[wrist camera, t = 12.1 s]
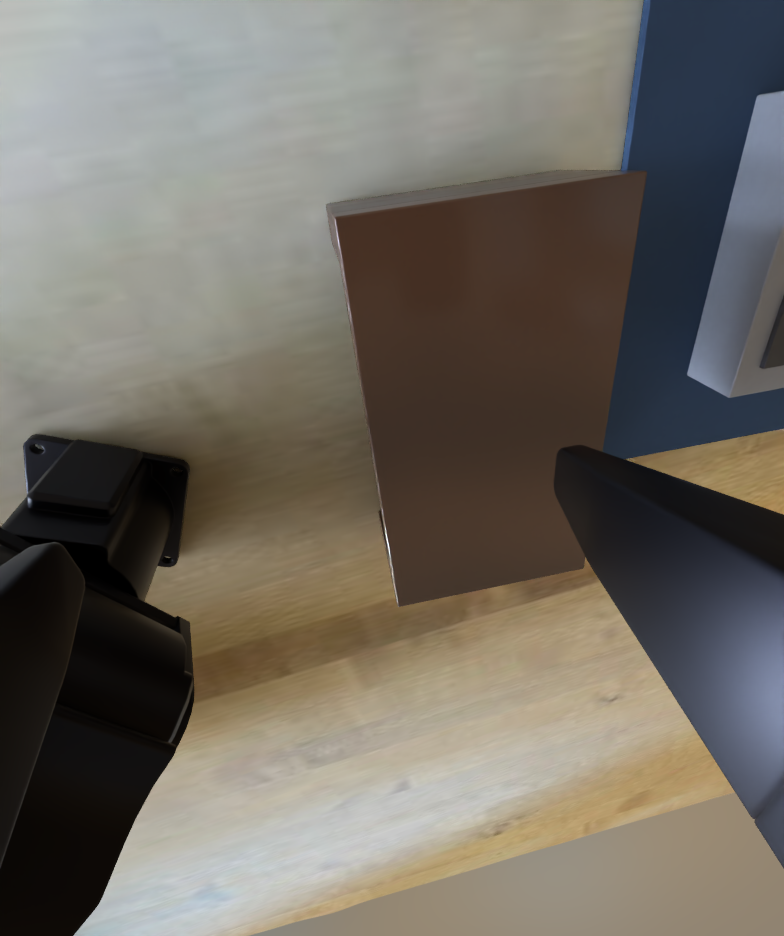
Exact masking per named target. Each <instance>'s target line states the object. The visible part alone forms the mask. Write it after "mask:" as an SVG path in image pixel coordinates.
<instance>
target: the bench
mask: <svg viewBox="0 0 784 936" xmlns="http://www.w3.org/2000/svg"><path fill="white" fill-rule="evenodd" d="M646 177H647V171H638V170H623V171H622V170H556V171H549V172H542V173H535V174H528V175H522V176H515V177H508V178H501V179H494V180H487V181H481V182H474V183H467V184H460V185H453V186H446V187H439V188H433V189H426V190H419V191H412V192H405V193H398V194H391V195H385V196H378V197H371V198H364V199H357V200H350V201H343V202H337V203H330V204H326V209H327V215H328V221H329V227H330V232H331V238H332V244H333V247H334V249H335V252H336V255H337V257H338V260H339V262H340V268H341V274H342V280H343V286H344V292H345V298H346V304H347V310H348V316H349V322H350V328H351V334H352V340H353V346H354V352H355V358H356V364H357V370H358V376H359V382H360V388H361V394H362V400H363V406H364V412H365V418H366V424H367V430H368V436H369V442H370V448H371V454H372V460H373V466H374V472H375V478H376V484H377V490H378V496H379V502H380V508H381V511H379V512H378V513H379V519H380V525H381V531H382V535H383V540H384V545H385V549H386V554H387V559H388V563H389V568H390V573H391V577H392V582H393V586H394V591H395V596H396V601H397V605H398V607H400V606H405V605H410V604H415V603H420V602H424V601H429V600H434V599H439V598H444V597H449V596H453V595H458V594H463V593H468V592H473V591H477V590H482V589H487V588H492V587H497V586H502V585H506V584H511V583H516V582H521V581H526V580H530V579H535V578H540V577H545V576H550V575H555V574H559V573H564V572H569V571H574V570H579V569H583V568H584V563H585V555H584V553H583V551H582V549H581V547H580V545H579V543H578V541H577V539H576V537H575V535H574V532H573V530H572V528H571V526H570V524H569V522H568V520H567V518H566V516H565V514H564V512H563V510H562V508H561V506H560V504H559V502H558V500H557V498H556V495H555V492H554V475H555V465H556V456H557V453H558V451H559V450H560V449H561V448H564V447H569V446H574V445H584V446H587V447H590V448H593V449H596V450H599V451H601V452H602V451H603V445H604V438H605V432H606V426H607V420H608V414H609V407H610V401H611V395H612V389H613V383H614V376H615V370H616V364H617V358H618V351H619V345H620V339H621V333H622V327H623V320H624V314H625V308H626V302H627V295H628V289H629V283H630V277H631V271H632V264H633V258H634V252H635V246H636V240H637V233H638V227H639V221H640V215H641V208H642V202H643V196H644V190H645V184H646Z"/></svg>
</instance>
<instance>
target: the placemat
mask: <svg viewBox="0 0 784 936" xmlns="http://www.w3.org/2000/svg"><path fill="white" fill-rule="evenodd" d="M779 91H784V0H644V4H643V11H642V19H641V26H640V34H639V41H638V49H637V56H636V64H635V71H634V78H633V86H632V93H631V101H630V108H629V116H628V123H627V131H626V138H625V146H624V153H623V161H622V168H621V170H622V171H623V170H638V171H647V177H646V184H645V190H644V196H643V202H642V208H641V215H640V221H639V227H638V233H637V240H636V246H635V252H634V258H633V264H632V271H631V277H630V283H629V289H628V295H627V302H626V308H625V314H624V320H623V327H622V333H621V339H620V345H619V351H618V358H617V364H616V370H615V376H614V383H613V389H612V395H611V401H610V407H609V414H608V420H607V426H606V432H605V438H604V445H603V451H602V452H604V453H607V454H610V455H613V456H616V457H619V458H622V459H628V458H633V457H638V456H643V455H648V454H654V453H659V452H664V451H669V450H675V449H680V448H685V447H690V446H695V445H701V444H706V443H711V442H716V441H721V440H727V439H732V438H737V437H742V436H747V435H753V434H758V433H763V432H768V431H773V430H779V429H784V388H779V389H774V390H769V391H763V392H758V393H753V394H747V395H742V396H737V397H731V398H728V397H726V396H725V395H723V394H721V393H719V392H717V391H715V390H713V389H712V388H710V387H708V386H706V385H704V384H702V383H700V382H699V381H697V380H695V379H693V378H691V377H689V376H688V375H687V373H688V369H689V365H690V361H691V357H692V353H693V349H694V345H695V341H696V337H697V333H698V329H699V325H700V321H701V317H702V313H703V309H704V305H705V301H706V297H707V293H708V289H709V285H710V281H711V277H712V273H713V269H714V265H715V261H716V257H717V253H718V249H719V245H720V241H721V237H722V233H723V229H724V225H725V221H726V217H727V213H728V209H729V205H730V201H731V197H732V193H733V189H734V185H735V181H736V178H737V174H738V170H739V166H740V162H741V158H742V154H743V150H744V146H745V142H746V138H747V134H748V130H749V126H750V122H751V118H752V114H753V110H754V106H755V102H756V98H757V96H758V95H760V94H766V93H773V92H779Z"/></svg>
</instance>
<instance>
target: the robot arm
mask: <svg viewBox="0 0 784 936" xmlns="http://www.w3.org/2000/svg"><path fill="white" fill-rule="evenodd" d="M35 444H38V445H41V446H42V447H43V449H44V450H42V449H39V448H37V447H36V446H35ZM23 449H24V462H25V475H26V487H27V497H26V498H25V499H24V500H23V502H22V503H21V504H20V505H19V506H18V508H17V509H16V510H15V511H14V512H13V513H12V515H11V516H10V517H9V518H8V519H7V521H6V522H5V523H4V524H3V525H2V526H1V527H0V936H73V935H74V934H75V933H76V932H77V930H78V929H79V928H80V927H81V926H82V924H83V923H84V922H85V921H86V919H87V918H88V917H89V916H90V915H91V913H92V912H93V911H94V910H95V908H96V907H97V906H98V904H99V902H100V900H101V898H102V896H103V894H104V892H105V889H106V887H107V884H108V882H109V879H110V877H111V875H112V872H113V870H114V867H115V865H116V863H117V860H118V858H119V855H120V853H121V850H122V848H123V846H124V843H125V841H126V839H127V837H128V834H129V832H130V830H131V828H132V825H133V823H134V821H135V819H136V817H137V815H138V813H139V811H140V810H141V808H142V806H143V804H144V802H145V800H146V798H147V797H148V795H149V793H150V791H151V789H152V787H153V786H154V784H155V783H156V781H157V780H158V778H159V777H160V775H161V774H162V772H163V771H164V769H165V768H166V766H167V765H168V763H169V762H170V760H171V759H172V757H173V756H174V754H175V751H176V748H177V746H178V745H179V743H180V741H181V738H182V736H183V734H184V732H185V730H186V727H187V724H188V721H189V718H190V715H191V712H192V707H193V703H194V676H193V662H192V647H191V633H190V622H189V621H187V620H185V619H183V618H181V617H179V616H177V617H176V618H175V617H173V616H171V615H169V614H167V613H165V612H163V611H162V610H160V609H158V608H156V607H154V606H152V605H150V604H148V603H146V602H144V600H145V598H146V595H147V592H148V590H149V587H150V584H151V581H152V579H153V576H154V573H155V571H156V568H157V566H162V567H171V566H174V565H175V564H176V563H177V561H178V557H179V552H180V544H181V536H182V528H183V520H184V512H185V504H186V496H187V488H188V480H189V472H190V467H189V465H188V463H187V462H185V461H184V460H181V459H177V458H172V457H166V456H160V455H155V454H149V453H143V452H140V451H138V450H135V449H129V448H123V447H118V446H112V445H106V444H101V443H95V442H89V441H84V440H69V439H63V438H58V437H52V436H46V435H39V434H36V435H32V436H31V437H30V438H29V439H28V440H27V441H26V442H25V443H24V446H23ZM173 468H179V469H180V470H181V471H182V472H176V471H174V470H173ZM554 492H555V495H556V498H557V500H558V502H559V504H560V506H561V508H562V510H563V512H564V514H565V516H566V518H567V520H568V522H569V524H570V526H571V528H572V530H573V532H574V535H575V537H576V539H577V541H578V543H579V545H580V547H581V549H582V551H583V553H584V555H585V557H586V559H587V560H588V562H589V564H590V565H591V567H592V569H593V570H594V572H595V574H596V575H597V577H598V578H599V580H600V581H601V583H602V585H603V586H604V588H605V589H606V591H607V592H608V594H609V596H610V597H611V599H612V600H613V602H614V603H615V605H616V606H617V608H618V610H619V611H620V613H621V614H622V616H623V617H624V619H625V621H626V622H627V624H628V625H629V627H630V628H631V630H632V631H633V633H634V635H635V636H636V638H637V639H638V641H639V642H640V644H641V645H642V647H643V649H644V650H645V652H646V653H647V655H648V656H649V658H650V660H651V661H652V663H653V664H654V666H655V667H656V669H657V670H658V672H659V674H660V675H661V677H662V678H663V680H664V681H665V683H666V685H667V686H668V688H669V689H670V691H671V692H672V694H673V695H674V697H675V699H676V700H677V702H678V703H679V705H680V706H681V708H682V710H683V711H684V713H685V714H686V716H687V717H688V719H689V720H690V722H691V724H692V725H693V727H694V728H695V730H696V731H697V733H698V735H699V736H700V738H701V739H702V741H703V742H704V744H705V745H706V747H707V749H708V750H709V752H710V753H711V755H712V756H713V758H714V759H715V761H716V763H717V764H718V766H719V767H720V769H721V770H722V772H723V774H724V775H725V777H726V778H727V780H728V781H729V783H730V784H731V786H732V788H733V789H734V791H735V792H736V794H737V795H738V797H739V799H740V800H741V801H742V803H743V804H744V806H745V808H746V809H747V811H748V813H749V814H750V816H751V817H752V818H753V819H755V824H756V826H757V827H758V829H759V830H760V832H761V833H762V835H763V837H764V838H765V840H766V841H767V843H768V844H769V846H770V848H771V849H772V851H773V852H774V854H775V855H776V857H777V859H778V860H779V862H780V863H781V865H782V866H783V868H784V515H783V514H780V513H777V512H774V511H771V510H768V509H766V508H763V507H760V506H757V505H754V504H751V503H748V502H745V501H743V500H740V499H737V498H734V497H731V496H728V495H725V494H722V493H719V492H717V491H714V490H711V489H708V488H705V487H702V486H699V485H696V484H693V483H691V482H688V481H685V480H682V479H679V478H676V477H673V476H670V475H668V474H665V473H662V472H659V471H656V470H653V469H650V468H647V467H645V466H642V465H639V464H636V463H633V462H630V461H627V460H624V459H622V458H619V457H616V456H613V455H610V454H607V453H604V452H601V451H599V450H596V449H593V448H590V447H587V446H584V445H574V446H569V447H564V448H561V449H560V450H559V451H558V453H557V456H556V465H555V475H554ZM165 556H168V557H171V558H166V557H165Z"/></svg>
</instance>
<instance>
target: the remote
mask: <svg viewBox="0 0 784 936" xmlns="http://www.w3.org/2000/svg"><path fill="white" fill-rule="evenodd" d="M687 375H688V376H689V377H691V378H693V379H695V380H697V381H699V382H700V383H702V384H704V385H706V386H708V387H710V388H712V389H713V390H715V391H717V392H719V393H721V394H723V395H725V396H726V397H728V398H731V397H737V396H742V395H747V394H753V393H758V392H763V391H769V390H774V389H779V388H784V91H779V92H773V93H766V94H760V95H758V96H757V98H756V102H755V106H754V110H753V114H752V118H751V122H750V126H749V130H748V134H747V138H746V142H745V146H744V150H743V154H742V158H741V162H740V166H739V170H738V174H737V178H736V181H735V185H734V189H733V193H732V197H731V201H730V205H729V209H728V213H727V217H726V221H725V225H724V229H723V233H722V237H721V241H720V245H719V249H718V253H717V257H716V261H715V265H714V269H713V273H712V277H711V281H710V285H709V289H708V293H707V297H706V301H705V305H704V309H703V313H702V317H701V321H700V325H699V329H698V333H697V337H696V341H695V345H694V349H693V353H692V357H691V361H690V365H689V369H688V373H687Z"/></svg>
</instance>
